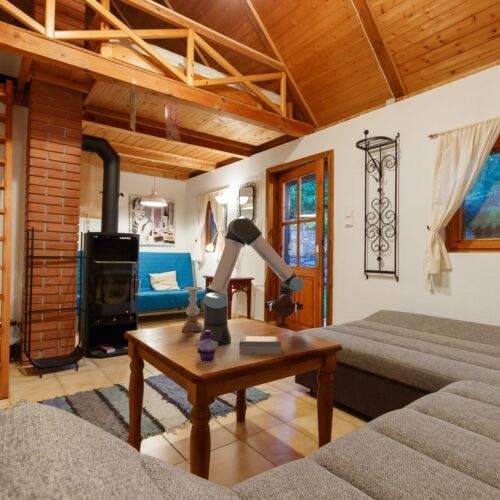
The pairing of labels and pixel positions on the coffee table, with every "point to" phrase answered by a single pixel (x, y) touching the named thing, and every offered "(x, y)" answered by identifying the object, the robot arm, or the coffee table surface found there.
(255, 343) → the step dock
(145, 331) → the coffee table surface
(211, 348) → the potion bottle
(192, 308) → the candle holder
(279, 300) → the ice cream bowl
